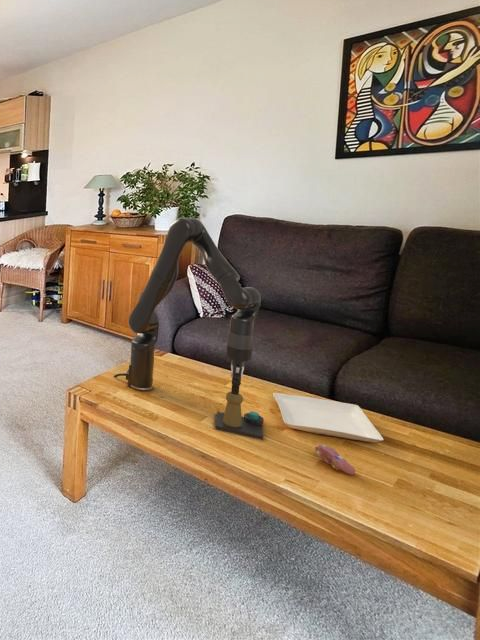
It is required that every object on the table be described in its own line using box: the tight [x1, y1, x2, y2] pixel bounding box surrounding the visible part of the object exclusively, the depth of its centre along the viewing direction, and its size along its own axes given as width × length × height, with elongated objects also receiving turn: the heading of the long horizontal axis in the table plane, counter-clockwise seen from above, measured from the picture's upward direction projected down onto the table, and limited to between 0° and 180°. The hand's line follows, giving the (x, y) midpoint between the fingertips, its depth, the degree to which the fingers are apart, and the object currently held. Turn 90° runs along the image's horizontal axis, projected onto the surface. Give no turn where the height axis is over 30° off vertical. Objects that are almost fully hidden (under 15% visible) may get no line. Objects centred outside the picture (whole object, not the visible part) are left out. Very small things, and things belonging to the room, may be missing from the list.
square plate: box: [272, 392, 384, 443], centre depth 169 cm, size 27×27×4 cm
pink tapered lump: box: [314, 443, 356, 475], centre depth 143 cm, size 10×5×7 cm, turn 5°
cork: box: [223, 391, 244, 427], centre depth 166 cm, size 6×6×11 cm
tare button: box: [248, 411, 260, 420], centre depth 167 cm, size 3×3×2 cm
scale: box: [215, 411, 265, 441], centre depth 167 cm, size 14×13×3 cm
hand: (234, 389), depth 165 cm, fingers open, 8 cm apart
